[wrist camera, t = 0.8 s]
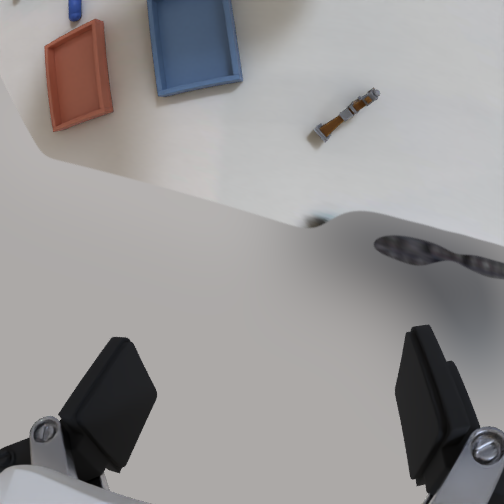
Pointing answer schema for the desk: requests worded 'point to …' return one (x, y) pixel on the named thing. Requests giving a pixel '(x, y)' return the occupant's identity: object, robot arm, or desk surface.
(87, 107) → the terracotta tray
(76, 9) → the blue spoon
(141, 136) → the desk surface
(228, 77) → the blue-grey tray
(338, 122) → the wooden post with brackets
